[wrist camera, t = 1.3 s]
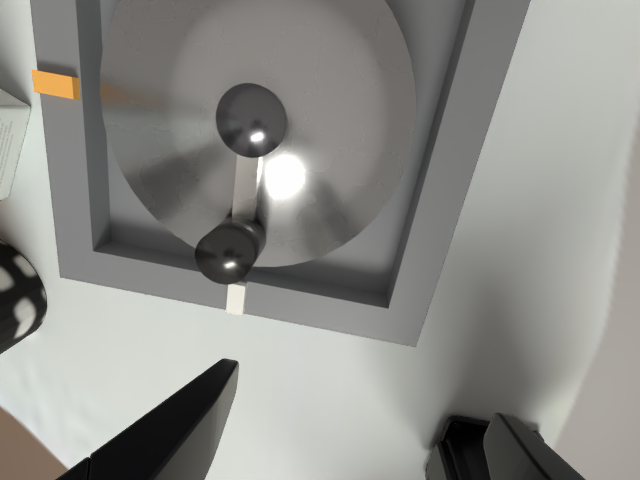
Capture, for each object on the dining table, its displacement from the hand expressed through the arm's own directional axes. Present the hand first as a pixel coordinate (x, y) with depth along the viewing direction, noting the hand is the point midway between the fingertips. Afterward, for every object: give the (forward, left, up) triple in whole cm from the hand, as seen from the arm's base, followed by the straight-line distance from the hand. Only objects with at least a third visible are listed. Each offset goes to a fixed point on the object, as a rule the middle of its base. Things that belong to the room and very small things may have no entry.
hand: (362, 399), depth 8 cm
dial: (+6, -6, -10) cm, 13 cm away
